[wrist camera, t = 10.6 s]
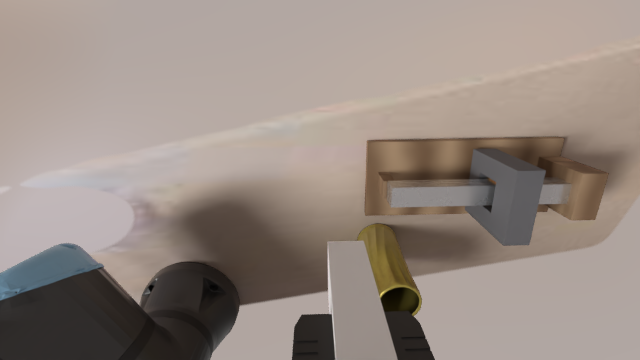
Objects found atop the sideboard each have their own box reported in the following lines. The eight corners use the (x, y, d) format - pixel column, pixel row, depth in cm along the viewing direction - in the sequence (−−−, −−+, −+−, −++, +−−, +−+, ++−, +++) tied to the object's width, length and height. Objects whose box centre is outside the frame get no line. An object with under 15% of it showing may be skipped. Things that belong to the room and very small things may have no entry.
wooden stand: (364, 212, 48) (375, 242, 40) (366, 140, 45) (379, 157, 36) (541, 208, 49) (589, 237, 40) (558, 136, 45) (615, 152, 36)
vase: (403, 235, 50) (436, 297, 36) (380, 264, 51) (403, 333, 38) (372, 216, 49) (394, 272, 35) (349, 245, 50) (361, 310, 37)
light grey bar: (386, 200, 42) (391, 209, 40) (387, 179, 41) (392, 187, 39) (551, 196, 42) (567, 205, 40) (556, 175, 42) (573, 183, 39)
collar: (464, 209, 46) (503, 245, 37) (473, 148, 43) (517, 171, 34) (485, 209, 46) (529, 245, 37) (495, 148, 43) (545, 170, 34)
